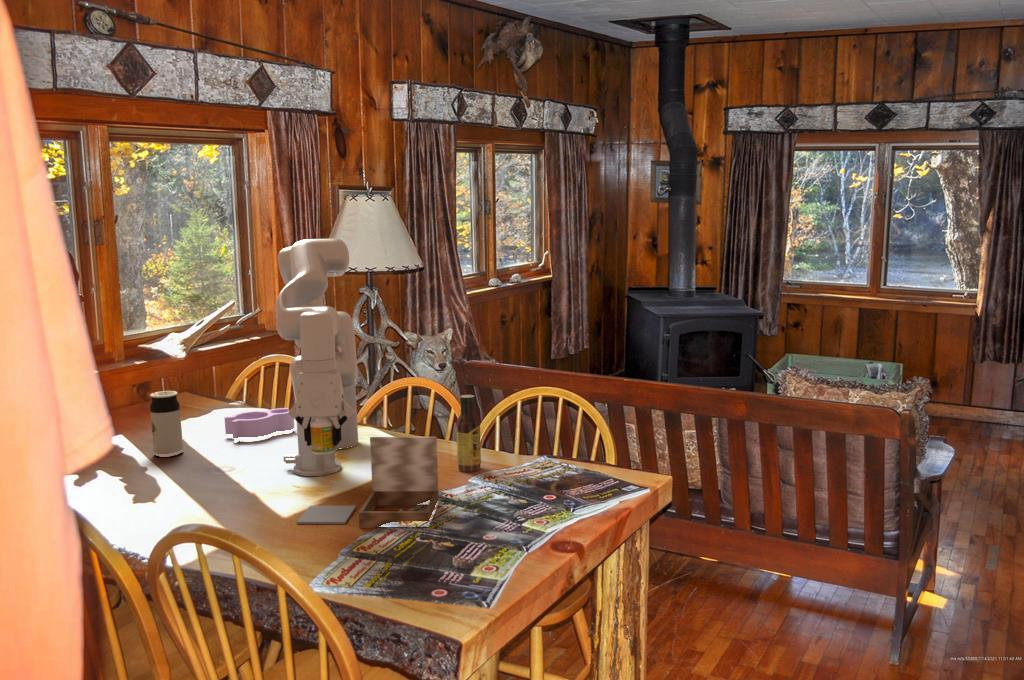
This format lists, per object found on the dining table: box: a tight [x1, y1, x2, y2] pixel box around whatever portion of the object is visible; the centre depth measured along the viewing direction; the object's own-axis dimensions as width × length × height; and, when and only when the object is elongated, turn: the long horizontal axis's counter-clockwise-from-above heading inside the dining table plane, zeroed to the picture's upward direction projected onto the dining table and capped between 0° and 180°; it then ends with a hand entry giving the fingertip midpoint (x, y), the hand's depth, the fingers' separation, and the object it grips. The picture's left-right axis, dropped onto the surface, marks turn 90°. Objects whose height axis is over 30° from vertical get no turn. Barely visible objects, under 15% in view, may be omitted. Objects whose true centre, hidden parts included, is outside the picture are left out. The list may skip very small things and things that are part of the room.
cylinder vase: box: [335, 383, 359, 449], centre depth 276 cm, size 12×12×25 cm
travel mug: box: [149, 390, 184, 454], centre depth 270 cm, size 8×8×18 cm
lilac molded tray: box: [224, 407, 295, 438], centre depth 290 cm, size 20×12×7 cm, turn 126°
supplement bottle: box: [310, 417, 337, 455], centre depth 213 cm, size 5×5×10 cm
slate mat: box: [296, 505, 357, 525], centre depth 216 cm, size 11×11×1 cm
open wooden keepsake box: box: [358, 436, 440, 529], centre depth 214 cm, size 16×16×16 cm
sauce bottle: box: [456, 394, 482, 473], centre depth 249 cm, size 6×6×20 cm
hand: (323, 443), depth 214 cm, fingers closed on supplement bottle, 5 cm apart
